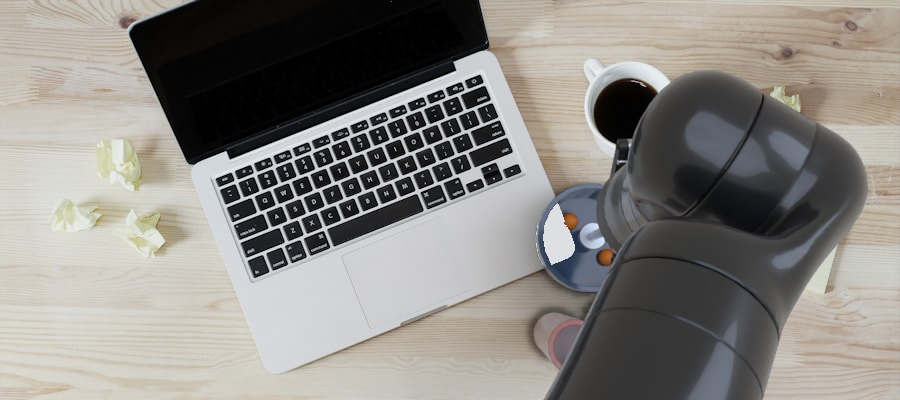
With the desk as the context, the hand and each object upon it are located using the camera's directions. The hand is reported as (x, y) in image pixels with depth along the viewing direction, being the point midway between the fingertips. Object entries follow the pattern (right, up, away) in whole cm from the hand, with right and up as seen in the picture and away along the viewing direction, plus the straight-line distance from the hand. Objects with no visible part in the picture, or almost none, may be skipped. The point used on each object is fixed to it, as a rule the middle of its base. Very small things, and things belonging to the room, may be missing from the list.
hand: (615, 226), depth 68 cm
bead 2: (+3, -4, +18) cm, 19 cm away
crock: (-3, -13, +19) cm, 23 cm away
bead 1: (-1, 0, +18) cm, 19 cm away
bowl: (+1, -2, +20) cm, 20 cm away
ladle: (+1, -2, +15) cm, 15 cm away
